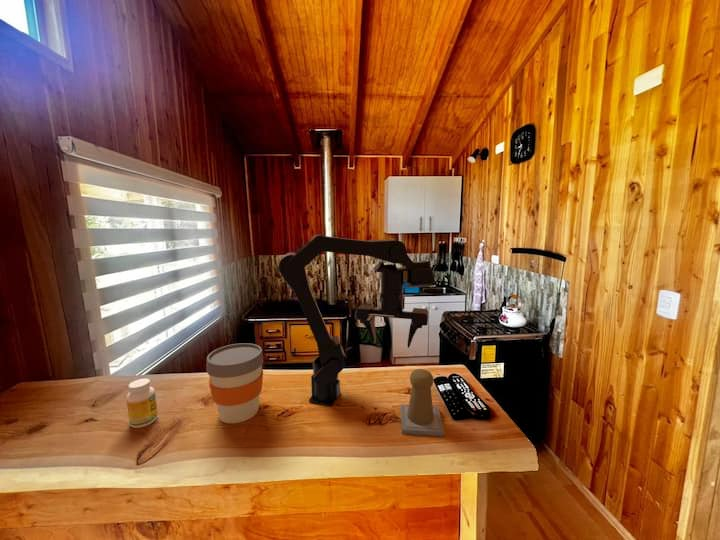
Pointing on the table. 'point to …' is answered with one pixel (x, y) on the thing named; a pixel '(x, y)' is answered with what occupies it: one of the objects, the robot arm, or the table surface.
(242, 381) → the reusable coffee cup
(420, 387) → the cork
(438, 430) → the coaster
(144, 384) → the supplement bottle
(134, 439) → the table surface
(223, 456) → the table surface
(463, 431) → the table surface
